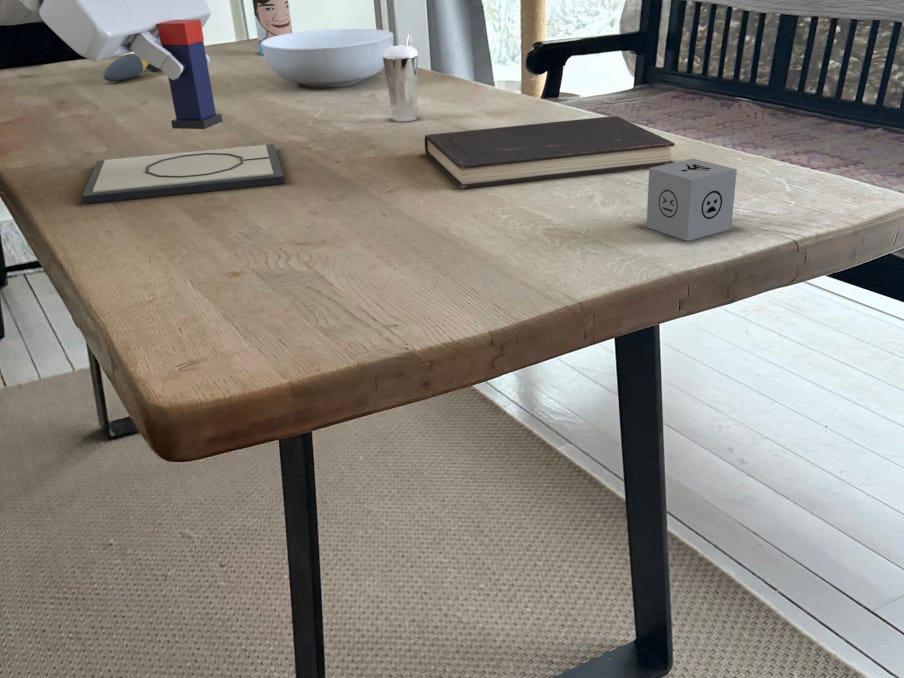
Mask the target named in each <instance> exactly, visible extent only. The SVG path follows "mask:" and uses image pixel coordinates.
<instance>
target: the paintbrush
mask: <svg viewBox="0 0 904 678" xmlns="http://www.w3.org/2000/svg"><path fill="white" fill-rule="evenodd" d="M160 46H161V47H162V45H160ZM145 70H148V71H152V72H157V71H160V70H161V69H159V68H157V67H155V66H153V65H151V64H149V63H147V62H145V61H144V60H142V59H140V58H139V57H138V56H137V55H136V54H135V53H134V52H131V53H127V54H124V55H121V56H120V57H118V58H117V59H116V60H114V61H112V62H111V63H110V64H109V65H108V66H107V67H106V68H105V70H104V72H103V75H102V76H103V79H104V80H105V81H107V82H121V81H127V80H131V79H133V78H136V77H137V76H139V75H141V74H142V73H143V72H144V71H145Z"/></svg>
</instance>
